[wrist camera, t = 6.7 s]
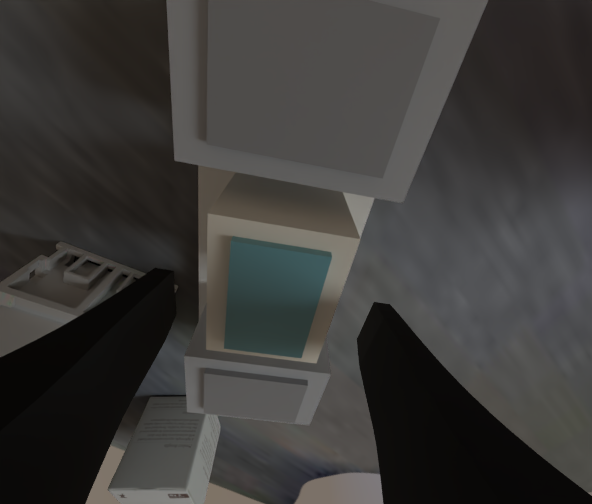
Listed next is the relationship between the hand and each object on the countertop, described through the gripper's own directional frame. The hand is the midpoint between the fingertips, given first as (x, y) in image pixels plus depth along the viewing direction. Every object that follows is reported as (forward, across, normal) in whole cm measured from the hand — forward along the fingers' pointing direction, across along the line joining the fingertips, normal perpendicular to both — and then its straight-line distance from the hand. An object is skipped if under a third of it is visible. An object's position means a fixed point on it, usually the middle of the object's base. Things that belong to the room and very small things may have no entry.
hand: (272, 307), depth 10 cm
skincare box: (+8, +6, +23) cm, 25 cm away
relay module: (+6, 0, 0) cm, 6 cm away
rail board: (+7, 0, 0) cm, 7 cm away
